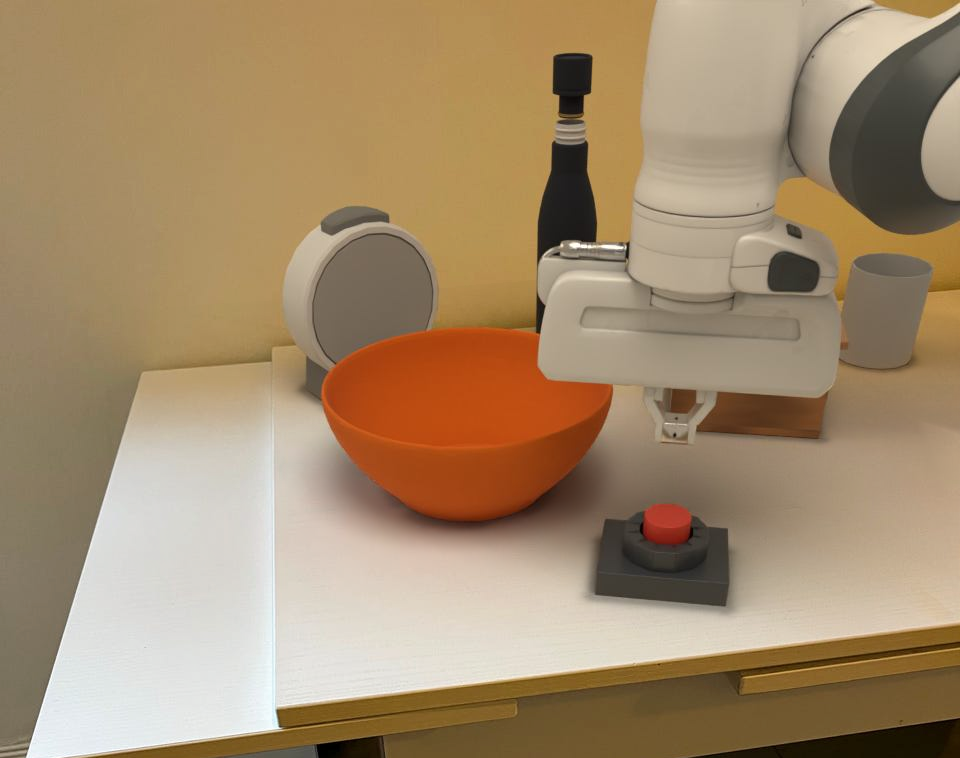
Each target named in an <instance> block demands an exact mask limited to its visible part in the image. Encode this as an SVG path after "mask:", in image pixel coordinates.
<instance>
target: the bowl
mask: <svg viewBox="0 0 960 758" xmlns="http://www.w3.org/2000/svg"><path fill="white" fill-rule="evenodd" d="M539 340H540V334H537V333H536V332H533V331H526V330H519V329H512V328H504V327H503V328H502V327H486V326H485V327H483V326H473V327H472V326H468V327H467V326H466V327H445V328H437V329H432V330H427V331H420V332H415V333H410V334H405V335H400V336H396V337H392V338H389V339H385V340H382V341H379V342H376V343H373V344H371V345H368V346H366V347H364V348H361V349H359V350H357V351H355V352H353V353H352V354H350V355H348V356H347V357H345V358H344V359H342V360H341V361H340V362H339V363H337V364H336V365H335V366H334V367H333V368H332V369H331V370H330V372H329V373H328V374H327V375H326V377H325V379H324V382H323V385H322V390H321V399H322V400H321V399H320V400H321V404H322V410H323V413H324V415H325V418H326V422H327V423H328V425H329V428H330V430H331V432H332V434H333V435H334V437H335V439H336V440H337V442H338V443H339V445H340V446H341V448H342V449H343V451H344V452H345V454H346V455H347V456H348V457H349V459H350V460H351V461H352V462H353V463H354V464H355V465H356V467H357V468H359V469H360V470H361V471H362V472H363V473H364V474H365V475H366V476H367V477H368V478H370V480H372V481H373V482H374V483H375V484H377V485H378V486H379V487H381V488H382V489H383V490H385V491H386V492H388V493H389V494H391V495H392V496H394V497H395V498H397V499H398V500H399V501H401V502H402V503H403V504H404V505H405V506H406V507H408V508H410V509H411V510H413V511H415V512H417V513H419V514H421V515H424V516H426V517H430V518H434V519H439V520H443V521H451V522H483V521H491V520H496V519H501V518H504V517H507V516H511V515H513V514H516V513H518V512H520V511H523V510H525V509H527V508H528V507H529V506H531V505H533V503H535V502H536V501H537V500H538V499H539V498H540V497H541V496H542V495H543V494H546V492H548V491H549V490H550V489H552V488H553V487H554V486H556V485H557V484H558V483H559V482H560V481H561V480H563V479H564V478H565V477H566V476H567V475H569V473H570V472H571V471H572V470H574V468H575V467H576V466H578V464H579V463H580V462H581V461H582V459H583V458H584V457H585V456H586V454H587V453H588V452H589V451H590V449H591V448H592V446H593V445H594V443H595V442H596V441H597V439H598V437H599V435H600V433H601V431H602V430H603V428H604V425H605V423H606V420H607V418H608V416H609V412H610V408H611V406H612V402H613V395H614V385H613V384H598V383H583V382H568V381H553V380H548V379H547V378H546V377H545V376H544V374H543V373H542V372H541V370H540V369H539V368H538V364H537V363H538V348H539Z"/></svg>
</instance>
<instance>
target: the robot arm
mask: <svg viewBox="0 0 960 758" xmlns="http://www.w3.org/2000/svg"><path fill="white" fill-rule="evenodd" d="M648 36H649V37H648V42H647V49H646V55H645V64H644V72H643V80H642V89H641V98H640V99H641V100H640V109H639V127H640V132H641V138H642V151H643V152H642V160H641V165H640V169H639V172H638V175H637V178H636V181H635V183H634V187H633V193H632V205H631V206H632V207H631V218H630V230H629V240H628V241H596V242H592V243H591V242H588V243H587V242H581V241H579V240H566V241H562V242H561V244H560V246H556V247H553V248H551V249H549V250H548V251H546V252H545V253H544V254H543V256H542V257H541V259H540V260H539V263H538V267H537V266H536V294H537V293H538V296H539V298H540V300H541V301H542V303H543V304H544V305H545V306H546V307H545V311H544V316H543V321H542V326H541V333H540V340H539V348H538V363H537V364H538V368H539V369H540V370H541V372H542V373H543V374H544V376H545V377H546V378H547V379H548V380H553V381H568V382H583V383H598V384H613V386H614V385H615V386H627V387H628V386H630V387H643V393H642V402H643V403H644V405H645V407H646V410H647V411H648V413H649V415H650V417H651V419H652V421H653V422H654V423H655V424H654V435H653V443H654V444H670V445H672V444H673V445H680V446H694V445H695V440H696V433H697V431H696V427H697V425H699V424H700V423H701V422H702V420H703V419H704V418H705V417H706V416H707V414H708V413H709V412H710V411H711V410H712V409H713V407H714V406H715V405H716V398H717V392H733V393H748V394H763V395H778V396H793V397H807V398H819V397H821V396H822V395H824V394H825V393H826V392H827V391H828V390H829V391H830V389H832V387H834V385H835V382H836V378H837V375H838V374H837V373H838V367H839V363H840V358H839V355H840V344H841V315H840V313H841V310H839V309H840V307H839V302H838V297H837V295H836V293H835V287H836V285H837V282H838V278H839V272H840V270H839V269H840V259H839V255H838V251H837V249H836V247H835V244H834V243H833V241H832V240H831V239H830V237H829V236H828V235H827V234H826V233H824V232H823V231H820V230H818V229H816V228H813V227H810V226H807V225H805V224H802V223H800V222H797V221H794V220H792V219H790V218H786V217H784V216H782V215H779V214H777V213H775V211H776V206H777V205H776V204H777V198H778V193H779V190H780V188H781V186H782V184H783V183H784V182H786V181H787V180H789V179H798V178H807V179H808V180H809V181H811V182H812V183H814V184H815V185H817V186H819V187H821V188H823V189H825V190H827V191H829V192H830V193H832V194H834V195H836V196H838V197H841V198H842V199H843V200H844V201H845V202H846V203H848V204H849V205H850V206H851V207H853V209H855V210H856V211H858V212H859V213H860V214H862V216H864V217H866V219H868V220H869V221H870V222H871V223H873V224H874V225H875V226H877V227H878V228H880V229H882V230H884V231H886V232H889V233H892V234H895V235H896V234H897V235H902V236H903V235H905V236H917V235H925V234H930V233H934V232H937V231H940V230H944V229H945V228H948V227H950V226H952V225H955V224H956V223H959V222H960V2H958V3H957V4H955V5H954V6H952V7H951V8H949V9H947V10H946V11H944V12H942V13H940V14H938V15H936V16H933V17H931V18H929V17H924V16H921V15H920V16H919V15H915V14H911V13H906V12H905V11H902V10H898V9H894V8H890V7H885V6H883V5H881V4H878V3H876V2H875V1H874V0H656V3H655V7H654V10H653V15H652V20H651V25H650V32H649V35H648ZM558 252H560V256H551V255H553V254H555V253H558ZM671 388H673V389H688V390H696V403H695V405H694V406H693V407H692V409H691V410H690V411H689V413H688V414H681V413H669V411H668V412H667V411H666V409H665V407H664V405H663V403H662V401H663V398H664V391H665V389H671ZM829 391H828V392H829Z"/></svg>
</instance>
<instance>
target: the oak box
mask: <svg viewBox="0 0 960 758" xmlns="http://www.w3.org/2000/svg"><path fill="white" fill-rule="evenodd" d="M829 391H830V389H829V390H828V391H827V392H826V393H825V394H824V395H822V396H821V397H819V398H807V397H793V396H778V395H763V394H748V393H733V392H717V398H716V405H715V406H714V407H713V409H712V410H711V411H710V412H709V413H708V414H707V416H706V417H705V418H704V419H703V420H702V422H701V423H700V424H699V425H697V427H696V432H697V431H698V432H699V431H700V432H712V433H713V432H715V433H729V434H746V435H760V436H775V437H777V436H778V437H791V438H793V437H794V438H808V439H819V438H820V433H821V429H822V424H823V419H824V414H825V409H826V405H827V400H828V395H829ZM669 397H670V398H669V411H668V413H681V414H688V413H689V411H690V410H691V409H692V407H693V406H694V405H695V403H696V390H688V389H673V388H670V395H669Z"/></svg>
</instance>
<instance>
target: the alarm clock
mask: <svg viewBox="0 0 960 758" xmlns="http://www.w3.org/2000/svg"><path fill="white" fill-rule="evenodd" d="M281 292H282V295H281V297H282V298H281V299H282V315H283V317H284V321H285V325H286V329H287V331H288V333H289V335H290V337H291V339H292V340H293V342H294V343H295V345H296V347H297V348H298V349H299V350H300V351H301V352H303V354H304V355H305V356H306V357H305V359H306V360H305V389H306V391H308V392H310V393H311V394H312V395H314V396H315V397H316V398H318V399H319V400H320V401H322V399H321V390H322V385H323V382H324V379H325V377H326V375H327V374H328V373H329V372H330V370H331V369H332V368H333V367H334V366H335V365H336V364H337V363H339V362H340V361H341V360H342V359H344V358H345V357H347V356H348V355H350V354H352V353H353V352H355V351H357V350H359V349H361V348H364V347H366V346H368V345H371V344H373V343H376V342H379V341H382V340H385V339H389V338H392V337H396V336H400V335H405V334H410V333H415V332H420V331H427V330H433V327H434V324H435V321H436V317H437V312H438V310H439V309H438V308H439V293H440V288H439V282H438V275H437V269H436V267H435V265H434V262H433V259H432V257H431V255H430V253H429V251H428V250H427V249H426V247H425V246H424V245H423V244H422V242H421V241H420V240H419V238H418V237H417V236H415V235H413V234H412V233H410V232H409V231H408V230H406V229H405V228H404V227H401V226H399V225H396V224H394V223H392V222H390V214H389V213H388V212H385V211H384V210H381V209H378V208H375V207H370V206H363V205H362V206H361V205H351V206H349V205H347V206H344V207H341V208H338V209H337V210H334V211H332V212H331V213H329V214H328V215H326V216H325V217H324V218H323V219H321V221H320V224H319V225H317V227H315V228H314V229H312V230H311V231H310V232H309V233H308V234H307V235H306V236H305V238H304V239H302V241H301V242H300V244H299V245H298V246H297V247H296V249H295V250H294V253H293V255H292V257H291V259H290V260H289V264H287V268H286V270H285V275H284V280H283V285H282V290H281Z"/></svg>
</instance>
